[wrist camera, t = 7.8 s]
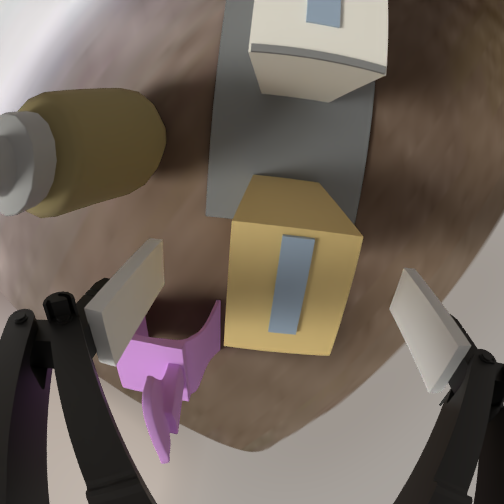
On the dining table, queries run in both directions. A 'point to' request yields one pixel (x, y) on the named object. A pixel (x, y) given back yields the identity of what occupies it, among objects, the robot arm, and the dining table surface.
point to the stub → (288, 267)
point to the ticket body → (318, 46)
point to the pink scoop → (167, 375)
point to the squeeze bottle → (77, 150)
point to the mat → (280, 130)
